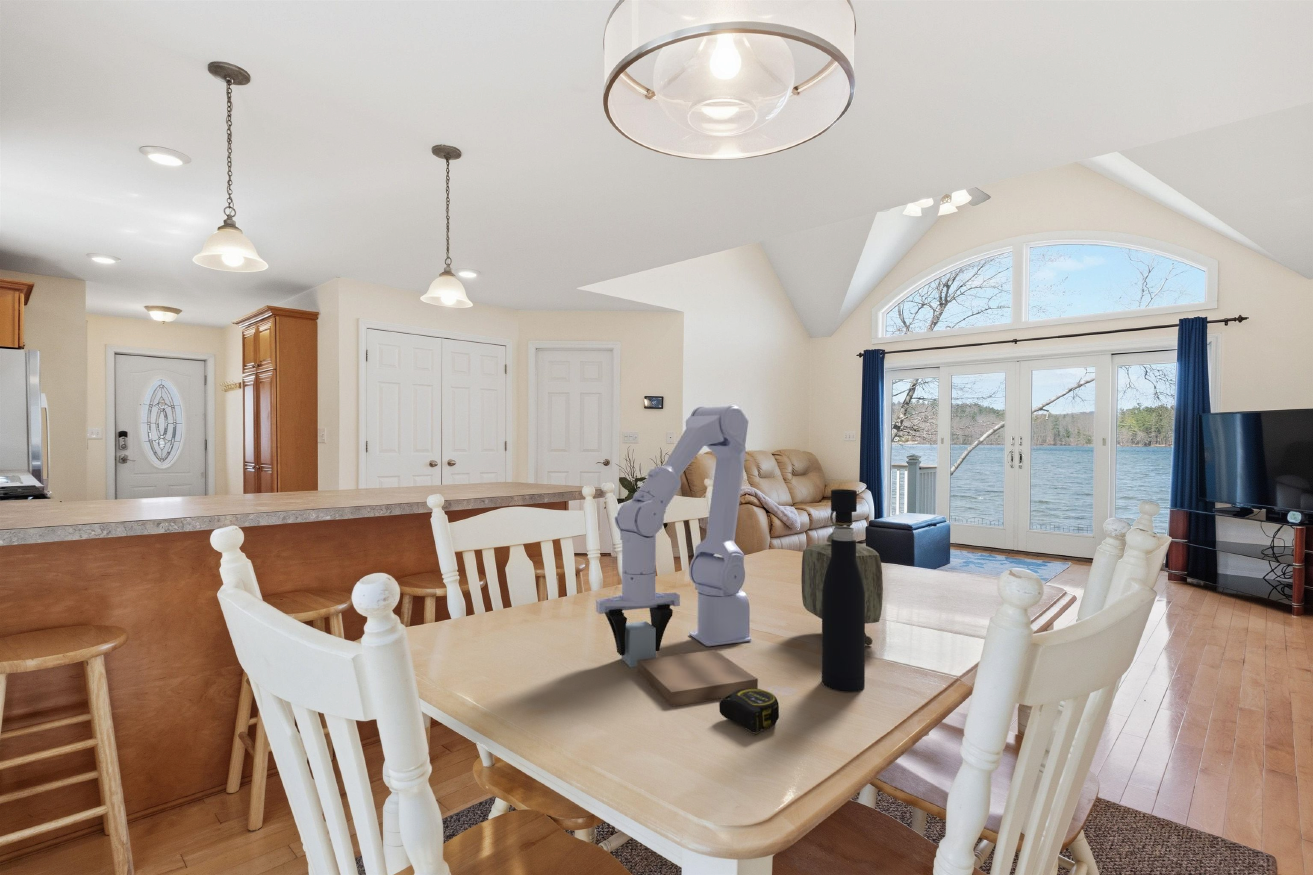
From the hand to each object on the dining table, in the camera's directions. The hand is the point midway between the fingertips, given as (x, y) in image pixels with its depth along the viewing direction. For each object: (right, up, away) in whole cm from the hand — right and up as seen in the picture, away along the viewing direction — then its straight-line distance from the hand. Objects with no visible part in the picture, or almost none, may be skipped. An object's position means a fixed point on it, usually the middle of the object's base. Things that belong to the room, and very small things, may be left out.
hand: (638, 651), depth 108 cm
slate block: (0, -2, 0) cm, 2 cm away
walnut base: (+9, -2, -9) cm, 13 cm away
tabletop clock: (+38, -2, +13) cm, 40 cm away
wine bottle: (+32, -2, -10) cm, 33 cm away
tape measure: (+16, -2, -24) cm, 29 cm away
